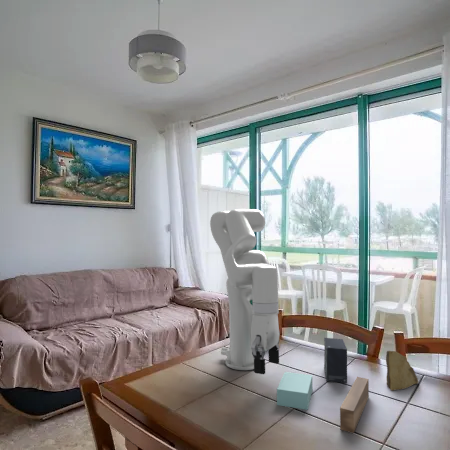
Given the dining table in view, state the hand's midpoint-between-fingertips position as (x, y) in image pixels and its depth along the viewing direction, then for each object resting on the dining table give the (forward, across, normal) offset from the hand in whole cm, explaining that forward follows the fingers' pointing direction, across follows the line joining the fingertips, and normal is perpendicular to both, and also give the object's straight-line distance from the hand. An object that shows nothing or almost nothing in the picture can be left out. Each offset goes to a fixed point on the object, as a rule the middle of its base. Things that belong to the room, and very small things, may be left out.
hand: (267, 367), depth 101 cm
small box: (+7, -21, +14) cm, 26 cm away
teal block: (+7, -1, +8) cm, 11 cm away
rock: (+7, -24, +33) cm, 41 cm away
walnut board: (+7, -1, +24) cm, 25 cm away
